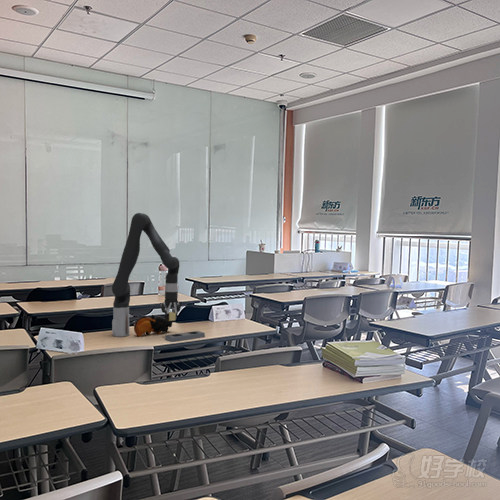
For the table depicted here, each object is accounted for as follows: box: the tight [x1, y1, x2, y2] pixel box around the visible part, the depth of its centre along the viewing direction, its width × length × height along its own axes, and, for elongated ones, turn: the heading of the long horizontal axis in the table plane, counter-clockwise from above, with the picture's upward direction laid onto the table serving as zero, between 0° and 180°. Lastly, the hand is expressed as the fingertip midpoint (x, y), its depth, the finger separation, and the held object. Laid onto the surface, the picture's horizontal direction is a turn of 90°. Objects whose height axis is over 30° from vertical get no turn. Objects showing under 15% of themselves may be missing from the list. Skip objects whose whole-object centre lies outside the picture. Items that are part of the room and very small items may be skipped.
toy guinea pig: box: [133, 314, 173, 338], centre depth 301 cm, size 8×23×15 cm, turn 126°
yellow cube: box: [168, 311, 177, 322], centre depth 293 cm, size 4×4×4 cm
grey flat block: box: [164, 330, 206, 343], centre depth 289 cm, size 22×8×2 cm, turn 128°
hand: (170, 319), depth 293 cm, fingers closed on yellow cube, 4 cm apart
